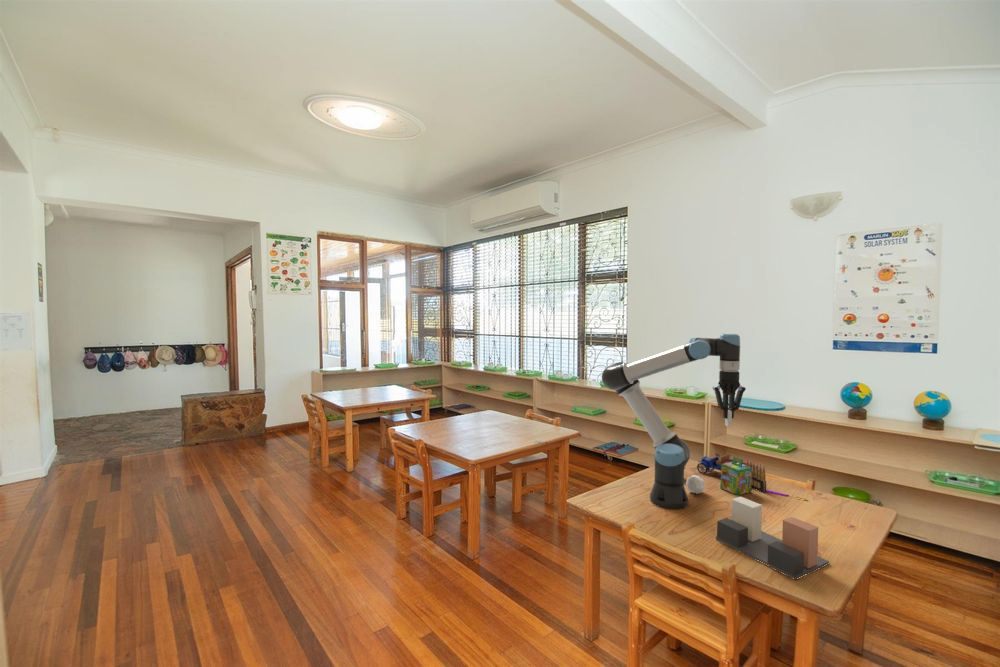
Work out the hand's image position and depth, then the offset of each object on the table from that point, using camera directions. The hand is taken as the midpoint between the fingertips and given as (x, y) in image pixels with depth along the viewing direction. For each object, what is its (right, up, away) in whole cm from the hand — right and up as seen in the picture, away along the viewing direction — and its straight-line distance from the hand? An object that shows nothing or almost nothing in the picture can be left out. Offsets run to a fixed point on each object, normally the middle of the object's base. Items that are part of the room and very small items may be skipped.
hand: (728, 425), depth 188 cm
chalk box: (+10, -32, +12) cm, 36 cm away
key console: (-6, -34, -38) cm, 52 cm away
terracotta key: (-1, -34, -46) cm, 57 cm away
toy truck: (+13, -31, +29) cm, 44 cm away
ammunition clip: (+20, -32, +15) cm, 40 cm away
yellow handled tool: (+29, -33, +7) cm, 44 cm away
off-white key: (-9, -33, -30) cm, 45 cm away
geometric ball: (-9, -32, +10) cm, 35 cm away
